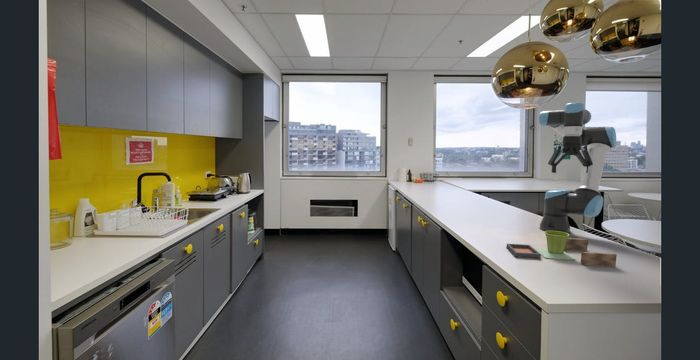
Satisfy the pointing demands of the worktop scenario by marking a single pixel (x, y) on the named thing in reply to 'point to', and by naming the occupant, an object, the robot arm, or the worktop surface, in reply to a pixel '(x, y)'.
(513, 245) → the tray
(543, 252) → the pad
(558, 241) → the plant pot
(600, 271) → the worktop surface
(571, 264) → the worktop surface
